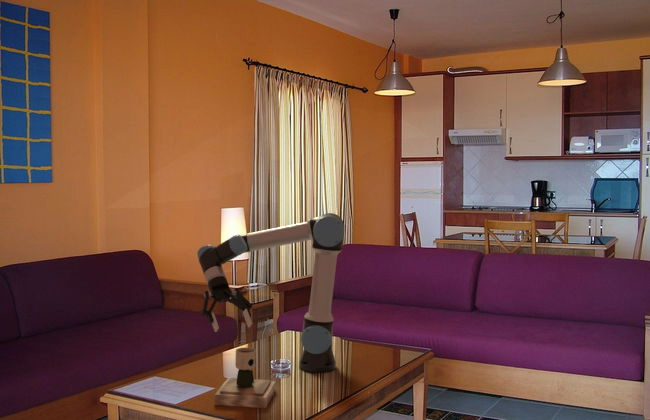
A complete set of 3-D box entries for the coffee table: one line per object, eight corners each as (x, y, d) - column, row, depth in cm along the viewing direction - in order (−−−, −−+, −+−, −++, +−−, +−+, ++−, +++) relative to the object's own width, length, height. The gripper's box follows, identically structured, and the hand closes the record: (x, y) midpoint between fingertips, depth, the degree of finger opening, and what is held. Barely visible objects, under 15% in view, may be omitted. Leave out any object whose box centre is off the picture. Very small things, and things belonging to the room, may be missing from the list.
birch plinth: (275, 390, 248) (275, 379, 248) (265, 408, 230) (266, 395, 230) (227, 387, 250) (227, 376, 250) (214, 404, 232) (214, 392, 232)
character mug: (248, 392, 233) (248, 355, 232) (229, 389, 235) (230, 352, 234) (260, 382, 243) (261, 347, 243) (242, 380, 246) (243, 345, 245)
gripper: (242, 284, 268) (260, 329, 257) (183, 289, 254) (199, 337, 243) (248, 272, 264) (267, 318, 252) (189, 277, 250) (205, 325, 238)
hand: (233, 327), depth 248 cm, fingers open, 13 cm apart
